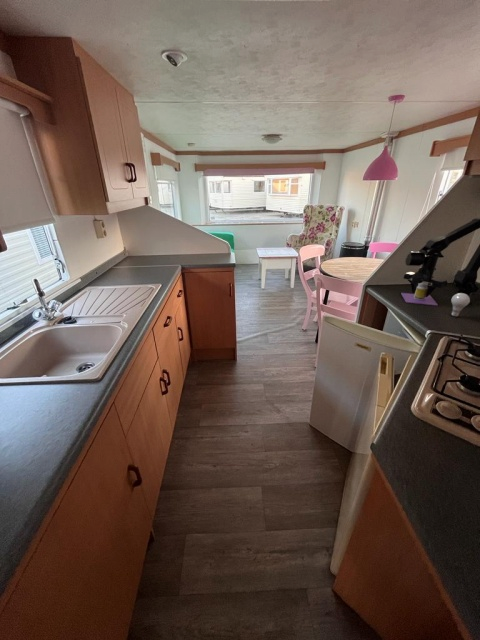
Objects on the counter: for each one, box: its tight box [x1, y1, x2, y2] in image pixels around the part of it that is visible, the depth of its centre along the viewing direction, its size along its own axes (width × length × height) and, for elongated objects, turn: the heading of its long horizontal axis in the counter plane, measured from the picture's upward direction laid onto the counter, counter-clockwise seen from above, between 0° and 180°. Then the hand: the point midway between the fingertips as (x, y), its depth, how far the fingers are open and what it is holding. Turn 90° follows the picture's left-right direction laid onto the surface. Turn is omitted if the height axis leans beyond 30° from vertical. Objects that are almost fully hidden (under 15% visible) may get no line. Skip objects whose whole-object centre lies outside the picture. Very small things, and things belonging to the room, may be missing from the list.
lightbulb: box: [450, 293, 471, 317], centre depth 118 cm, size 6×6×11 cm
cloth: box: [400, 292, 439, 307], centre depth 139 cm, size 14×14×1 cm
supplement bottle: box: [414, 281, 429, 300], centre depth 137 cm, size 5×5×8 cm
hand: (419, 295), depth 139 cm, fingers open, 6 cm apart
